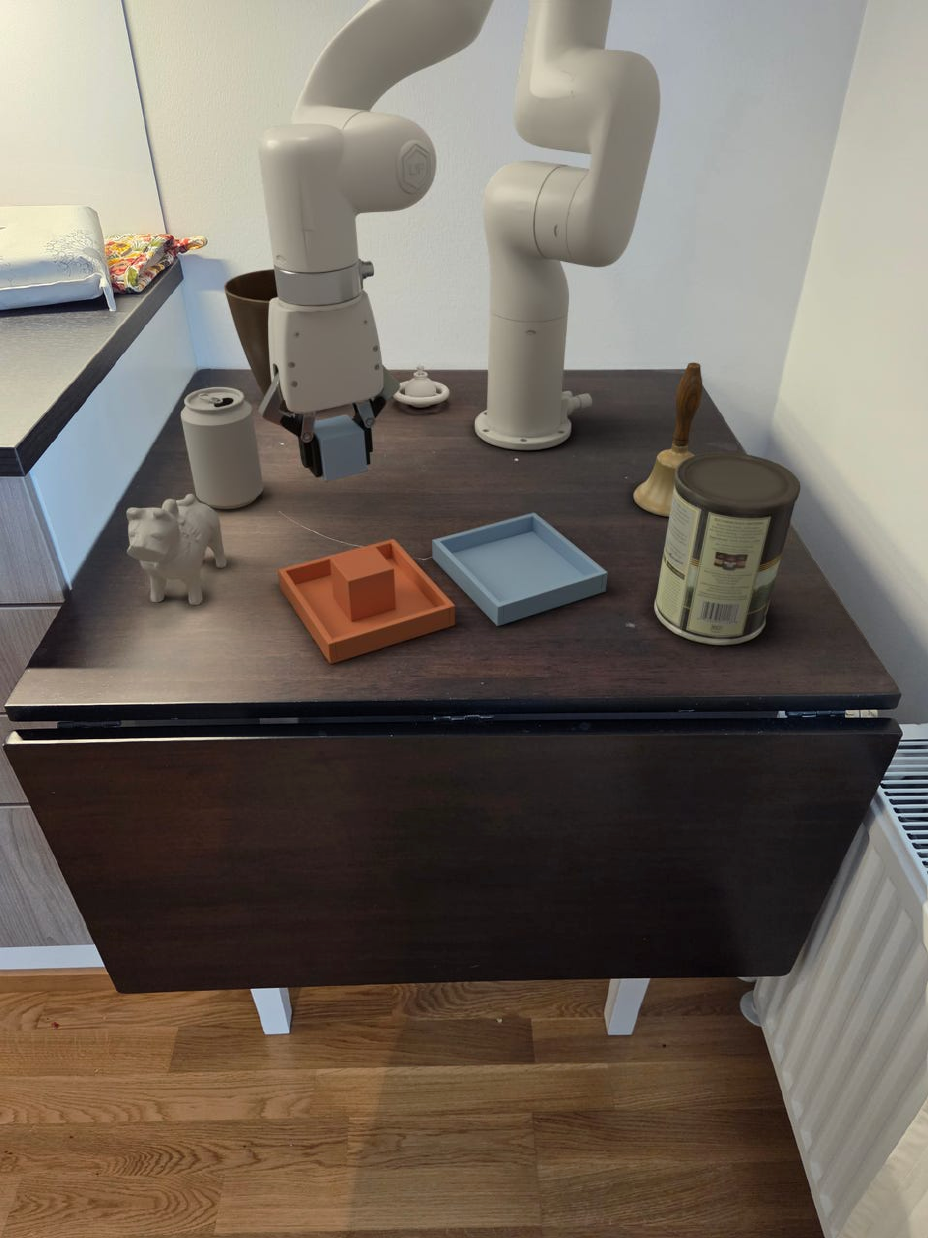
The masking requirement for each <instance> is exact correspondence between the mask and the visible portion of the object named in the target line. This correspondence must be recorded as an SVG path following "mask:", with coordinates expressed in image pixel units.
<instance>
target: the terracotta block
mask: <svg viewBox="0 0 928 1238" xmlns="http://www.w3.org/2000/svg"><path fill="white" fill-rule="evenodd" d="M330 566H331V576H332V587H333V597H334V598H335V600H336V601H337V603H338V604H339V605H340V607H341V608H342V609H343V611H344V612H345V613H346V615H347V616H348V617H349V619H350V620H351V621H352V622H353V621H356V620H359V619H363V618H366V617H369V616H373V615H376V614H379V613H383V612H386V611H390V610H393V609H396V600H395V579H394V568H393V567H392V566H391V565H390V563H389V562H388V561H387V560H386V559H385V558H384V557H383V555H382V554H381V553H380V552H379V551H378V550H377V548H376V547H375V546H371V547H368V548H364V549H360V550H356V551H353V552H349V553H345V554H341V555H337V556H334V557H330Z"/></svg>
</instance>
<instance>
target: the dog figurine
mask: <svg viewBox="0 0 928 1238" xmlns="http://www.w3.org/2000/svg"><path fill="white" fill-rule="evenodd" d="M126 518H127V521H128V526H127V533H128V541H129V547H128V548H127V550H126V554H127V555H128V556H129V557H131V558H132V559H135V560H137V561H139V563H140V566H141V568H142V569H143V571H145V572H146V573H147V574H148V575H149V578H150V596H149V597H150V601H151V602H152V603H159V602H162V601H163V600H165V598H166V594H165V592H166V586H167V580H180V581H181V582H182V583H184V584H185V587H186V589H187V593H188V597H187V598H188V602H189V604H190V605H192V606H199V605H200V604H201V603H203V601H204V598H203V590H202V577H201V576H202V575H201V571H202V567H203V559H204V558H205V556H206V551H207V548H209V549H210V550H211V552H212V553H213V555H214V558H215V565H216V567H217V568H222V569H223V568H225V567H227V564H228V563H227V559H226V555H225V549H224V543H223V536H222V529H221V522H220V518H219V515H218V513H217V512H216V511H215V509H214V508H213V507H211V506H209V505H207V504H206V503H204V502H199V499H198V498H197V496H196V495H195V494H193V493H188V494H186V496H185V497H184V498H183V499H178V500H176V499H174V498H167V499H165V500H164V502H162V506H161V507H129V508H127V510H126Z"/></svg>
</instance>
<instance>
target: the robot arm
mask: <svg viewBox="0 0 928 1238" xmlns="http://www.w3.org/2000/svg"><path fill="white" fill-rule="evenodd" d="M494 1H495V0H368V1H367V3H365V5H363V7H362V8H360V9H359V10H358V11H357V12H356V13H355V15H353V17H352V18H350V19H349V21H347V23H346V24H344V25H343V26H342V27H341V28H340V29H339V30H338V31H337V32H336V34H335V35H334V36H333V37H332V38H331V39H330V40H329V42H328V43H327V44H326V45H325V47H324V48H323V49H322V51H321V52H320V54H319V55H318V57H317V58H316V60H315V62H314V64H313V66H312V67H311V69H310V71H309V74H308V76H307V79H306V81H305V82H304V85H303V87H302V90H301V92H300V94H299V97H298V99H297V101H296V104H295V106H294V109H293V112H292V114H291V118H290V122H289V124H288V123H287V124H281V125H277V126H273V127H271V128H269V129H266V130H265V131H264V132H263V133H262V134H261V136H260V137H259V139H258V140H259V141H258V146H257V148H258V150H257V151H258V160H259V168H260V177H261V183H262V190H263V198H264V205H265V213H266V220H267V227H268V234H269V241H270V247H271V249H270V250H271V255H272V263H273V269H274V272H275V279H276V286H277V293H278V297H277V298H273V299H271V300H270V302H269V316H268V339H269V358H270V371H271V381H272V383H271V385H270V387H269V389H268V391H267V393H266V395H265V397H263V399H262V401H261V403H260V405H259V406H258V409H257V412H258V414H259V415H260V416H261V417H262V419H264V420H265V421H268V422H270V423H272V424H275V425H276V426H280V427H282V428H284V430H287V431H288V432H289V433H291V434H292V435H294V436H296V437H297V441H298V448H299V457H300V461H301V464H302V466H303V467H304V468H305V469H307V470H309V471H310V473H312V475H313V476H314V477H315V478H317V479H318V478H321V477H322V475H323V472H322V463H321V455H320V447H319V442H318V440H317V439H316V438H315V436H314V426H315V421H316V418H317V417H316V416H317V412H319V411H323V410H329V409H333V408H338V407H341V406H342V407H343V406H347V405H350V407H351V409H352V412H353V416H352V418H351V419H352V420H353V421H354V422H355V423H356V424H357V425H358V426H359V427H360V428H361V429H362V430H364V438H365V450H366V461H367V466H370V465H371V463H372V462H371V453H373V452H374V444H373V430H372V428H373V427H375V425H376V422H377V421H376V419H377V418H378V416H379V414H380V413H381V412H382V410H383V409H384V408H385V407H386V404H387V402H388V401H390V400H391V399H392V398H393V395H394V394H395V393H396V392H397V391H398V390H399V389H400V384H399V383H400V382H399V381H398V380H397V379H396V378H395V377H394V375H393V374H391V372H390V371H389V370H388V368H387V367H386V366H384V365H385V364H383V358H382V351H381V344H380V338H379V334H378V333H379V332H378V328H377V324H376V319H375V316H374V312H373V308H372V304H371V301H370V296H369V294H368V293H367V291H366V290H365V289H364V280H366V279H367V278H370V277H374V275H375V268H374V264H373V262H372V261H371V260H367V261H364V260H361V259H362V258H359V247H358V245H359V244H358V234H357V233H358V232H357V222H356V221H357V219H356V218H357V216H358V215H360V214H367V213H368V214H369V213H389V212H390V213H391V212H399V211H403V210H405V209H409V208H410V207H412V206H414V205H416V204H417V203H419V202H420V201H421V200H422V199H423V198H424V197H425V196H426V195H427V193H428V192H429V190H430V189H431V187H432V185H433V182H434V181H435V176H436V173H437V153H436V149H435V146H434V143H433V141H432V139H431V137H430V135H429V134H428V133H427V132H426V130H424V128H423V127H422V126H420V124H418V123H417V122H415V121H413V120H412V119H410V118H407V117H404V116H401V115H397V114H391V113H384V112H376V111H371V110H372V108H373V107H374V106H375V104H376V103H377V102H378V101H379V100H380V98H381V97H383V95H385V94H386V93H387V92H388V91H389V90H391V88H393V87H394V86H396V84H398V83H399V82H401V81H403V80H404V79H406V78H408V77H410V76H411V75H413V74H415V73H418V72H420V71H422V70H424V69H428V68H429V67H433V66H434V65H436V64H438V63H440V62H443V61H444V60H447V59H449V58H450V57H453V56H454V55H456V54H458V53H459V52H461V51H463V50H465V49H466V48H468V47H469V46H470V45H472V44H473V43H474V42H475V41H476V39H477V38H478V37H479V35H480V33H481V32H482V29H483V27H484V24H485V22H486V20H487V17H488V15H489V13H490V10H491V8H492V6H493V4H494ZM528 5H529V6H528V14H527V21H526V26H525V32H524V33H525V34H524V39H523V44H522V50H521V57H520V62H519V69H518V74H517V80H516V87H515V94H514V103H513V123H514V128H515V131H516V132H517V134H518V136H519V137H520V138H521V139H522V140H523V141H524V142H526V143H528V144H529V145H532V146H535V147H539V148H543V149H549V150H555V151H562V152H569V153H576V154H578V153H579V154H584V155H590V161H589V168H586V167H579V166H572V165H568V164H561V163H555V162H547V161H540V160H539V161H538V160H519V161H513V162H510V163H507V164H505V165H504V166H502V167H500V168H499V169H497V170H496V172H495V173H493V174H492V176H491V177H490V179H489V181H488V183H487V185H486V187H485V190H484V195H483V201H482V220H483V228H484V234H485V240H486V245H487V253H488V263H489V264H488V265H489V313H488V314H489V315H488V316H489V317H488V319H489V320H488V322H489V323H488V354H487V356H488V358H487V359H488V360H487V361H488V362H487V393H486V395H487V396H486V397H487V399H486V404H487V405H486V409H485V410H484V411H482V412H480V413H479V414H478V415H477V416H476V417H475V419H474V432H475V434H476V435H477V437H479V438H480V439H481V440H482V441H484V442H486V443H488V444H490V445H493V446H495V447H499V448H502V449H507V450H517V451H535V450H537V451H538V450H544V449H549V448H552V447H556V446H558V445H560V444H562V443H564V442H565V441H566V440H568V438H569V437H570V436H571V432H572V421H571V420H570V419H569V418H568V416H570V415H571V414H572V413H573V412H574V411H581V410H586V409H590V408H592V405H593V399H592V397H591V395H590V394H589V393H588V392H587V393H582V394H576V395H573V392H572V391H571V390H565V391H563V386H564V385H563V384H564V370H565V358H566V345H567V344H566V343H567V334H568V333H567V332H568V319H569V318H568V317H569V308H570V290H569V289H570V288H569V283H568V279H567V275H566V273H565V270H564V268H563V265H562V262H563V263H567V264H572V265H577V266H584V267H590V268H605V267H608V266H611V265H613V264H614V263H616V262H617V261H618V260H619V259H621V257H622V256H623V255H624V253H625V252H626V249H627V248H628V245H629V243H630V241H631V238H632V235H633V232H634V230H635V226H636V223H637V222H636V221H637V217H638V213H639V210H640V205H641V200H642V197H643V192H644V189H645V188H644V187H645V183H646V178H647V174H648V170H649V165H650V162H651V157H652V153H653V148H654V143H655V139H656V135H657V131H658V124H659V119H660V113H661V89H660V87H661V86H660V81H659V80H660V79H659V75H658V73H657V71H656V68H655V67H654V65H653V64H652V62H651V61H650V60H649V59H648V58H646V57H645V56H644V55H642V54H641V53H637V52H634V51H630V50H621V49H620V50H619V49H607V48H606V42H607V36H608V31H609V23H610V19H611V18H610V17H611V12H612V6H613V0H529V4H528ZM283 400H285V402H286V406H287V408H288V410H289V411H281V410H280V409H279V407H280V405H281V403H282V401H283ZM289 412H291V413H292V415H291V414H290V413H289ZM322 478H323V477H322Z"/></svg>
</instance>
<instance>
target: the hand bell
mask: <svg viewBox="0 0 928 1238" xmlns="http://www.w3.org/2000/svg"><path fill="white" fill-rule="evenodd" d="M701 368H702V367H701V364H700V363H698V362H689V363H688V364H687V367H686V369H685V371H684V372H683V374H682V377H681V378H680V380H679V383H678V386H677V389H676V393H675V395H676V396H675V412H676V425H675V429H674V434H673V438H672V444H671V448H670V449H664V450H662V451H660V452H659V453H658V454H657V456H656V460H655V463H654V466H653V469H652V470H651V473H650V475H649V477H648V478H647V479H646V480H645V481H644V482H642V483H641V484H639V486H637V488H635V490H634V492H633V500H634V502H635V504H636V505H638V506H639V508H641V509H642V510H644V511H646V512H648V513H650V514H653V515H657V516H660V517H665V518H669V516H670V510H671V503H672V497H673V490H674V484H675V482H674V475H675V470H676V467H677V466H678V465H679V464H680V463H681V462H682V461H684V460H685V459H687V458H690V457H692V456H695V454H693V453H692V452H690V451H688V448H689V443H690V434H691V428H692V422H693V419H694V417H695V415H696V413H697V412H698V409H699V407H700V404H701V400H702V396H703V386H704V385H703V377H702V371H701V370H702V369H701Z"/></svg>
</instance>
